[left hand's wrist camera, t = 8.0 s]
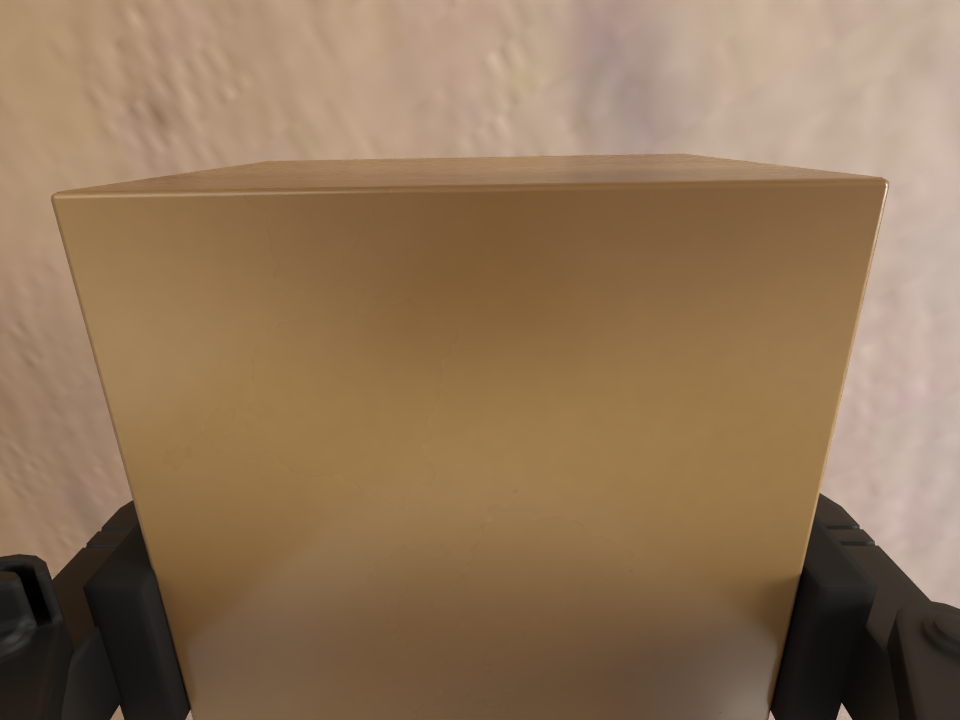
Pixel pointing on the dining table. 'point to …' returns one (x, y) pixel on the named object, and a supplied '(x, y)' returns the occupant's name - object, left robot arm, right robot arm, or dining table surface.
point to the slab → (476, 424)
